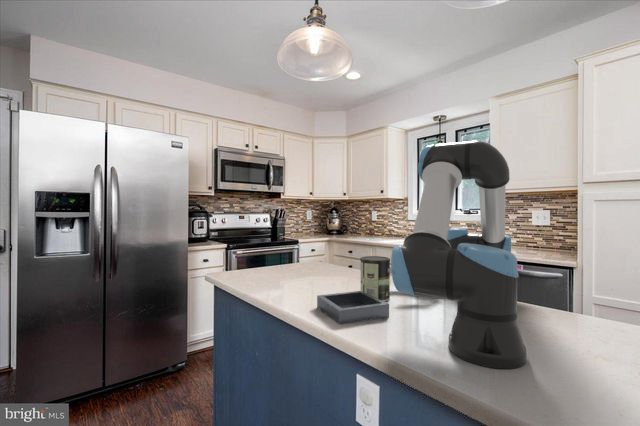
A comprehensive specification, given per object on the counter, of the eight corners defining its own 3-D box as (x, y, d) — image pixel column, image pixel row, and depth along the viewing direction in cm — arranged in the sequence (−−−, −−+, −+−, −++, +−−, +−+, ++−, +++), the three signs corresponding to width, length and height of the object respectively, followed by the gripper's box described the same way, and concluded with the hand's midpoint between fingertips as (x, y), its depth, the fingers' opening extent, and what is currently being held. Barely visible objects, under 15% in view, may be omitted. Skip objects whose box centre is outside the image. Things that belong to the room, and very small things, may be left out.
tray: (389, 317, 93) (389, 304, 93) (339, 324, 87) (339, 310, 87) (361, 301, 108) (361, 290, 108) (317, 307, 102) (317, 295, 102)
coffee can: (386, 294, 117) (387, 255, 117) (392, 302, 107) (393, 260, 107) (358, 294, 118) (358, 255, 117) (361, 302, 107) (361, 260, 107)
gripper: (463, 287, 112) (413, 293, 104) (415, 273, 135) (372, 277, 127) (463, 265, 111) (413, 270, 103) (416, 255, 135) (372, 258, 127)
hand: (390, 274), depth 115 cm, fingers open, 13 cm apart
